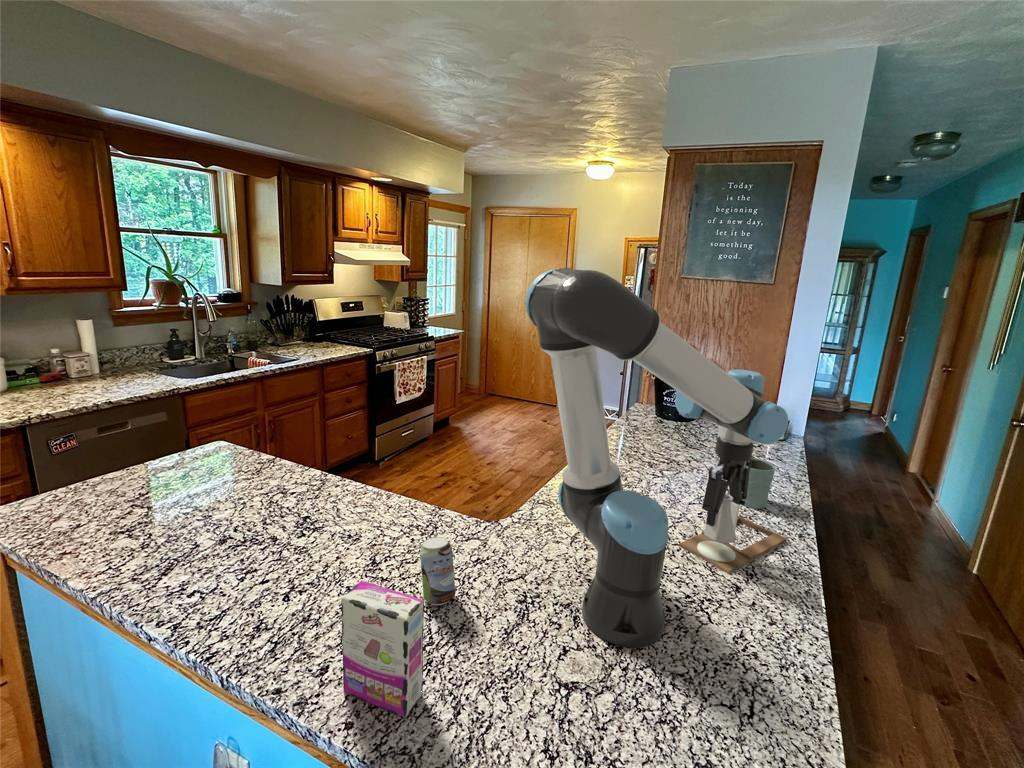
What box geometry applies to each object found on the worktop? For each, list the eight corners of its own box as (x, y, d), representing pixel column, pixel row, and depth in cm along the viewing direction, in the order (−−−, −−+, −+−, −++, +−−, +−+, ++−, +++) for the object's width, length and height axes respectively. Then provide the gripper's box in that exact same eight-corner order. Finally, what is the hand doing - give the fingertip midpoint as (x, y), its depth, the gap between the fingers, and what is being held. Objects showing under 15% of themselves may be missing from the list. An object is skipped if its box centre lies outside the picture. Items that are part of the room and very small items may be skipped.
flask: (739, 546, 112) (746, 506, 110) (705, 541, 114) (712, 501, 111) (732, 530, 119) (739, 491, 117) (700, 525, 121) (706, 487, 118)
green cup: (759, 513, 140) (766, 473, 137) (724, 499, 147) (730, 461, 144) (773, 503, 146) (781, 465, 144) (739, 490, 154) (746, 454, 151)
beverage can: (441, 614, 92) (443, 557, 89) (411, 599, 96) (412, 543, 93) (462, 597, 97) (464, 542, 94) (433, 583, 101) (434, 529, 98)
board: (728, 573, 110) (729, 569, 110) (678, 545, 120) (679, 541, 120) (786, 541, 125) (787, 537, 125) (738, 519, 135) (738, 515, 135)
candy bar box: (424, 693, 75) (426, 598, 71) (406, 720, 71) (407, 620, 67) (362, 668, 79) (361, 577, 75) (341, 693, 74) (339, 597, 71)
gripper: (725, 452, 102) (709, 552, 108) (775, 437, 114) (758, 528, 119) (693, 441, 108) (679, 536, 114) (743, 428, 120) (729, 515, 125)
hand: (719, 532), depth 116 cm, fingers closed on flask, 7 cm apart
